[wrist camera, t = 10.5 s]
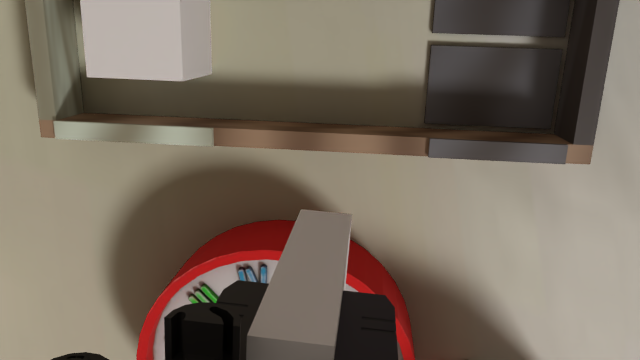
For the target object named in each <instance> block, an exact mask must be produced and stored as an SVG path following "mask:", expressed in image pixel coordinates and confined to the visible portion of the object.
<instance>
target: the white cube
mask: <svg viewBox="0 0 640 360" xmlns="http://www.w3.org/2000/svg"><path fill="white" fill-rule="evenodd" d="M80 5H81V16H82V27H83V38H84V50H85V61H86V72H87V77H93V78H116V79H140V80H163V81H186V80H190V79H194V78H198V77H202V76H206V75H210V74H212V55H211V14H210V0H80Z"/></svg>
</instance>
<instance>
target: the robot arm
mask: <svg viewBox="0 0 640 360" xmlns="http://www.w3.org/2000/svg"><path fill="white" fill-rule="evenodd" d="M351 221H352V214H344V213H334V212H324V211H314V210H304V209H301V210H300V213H299V215H298V217H297V220H296V222H295V224H294V227H293V229H292V231H291V234H290V236H289V238H288V241H287V243H286V245H285V248H284V250H283V252H282V255H281V257H280V259H279V262H278V264H277V266H276V269H275V271H274V273H273V276H272V278H271V280H270V283H269V284H268V283H260V282H251V281H242V280H237V281H236V282H234V283H233V284H231V285H229V286H228V287H226V288H225V289H223V291H222V293H221V294H220V296H219V298H218V299H217V301H216V303H214V302H198V303H193V304H187V305H184V306H181V307H179V308H177V309H174V310H172V311H171V312H170V313H169V314H168V315H167V316H165V317H164V335H165V360H398V348H397V334H396V318H395V307H394V306H393V304H392V303H391V302H390V301H389V299H388V298H387V297H386V295H380V294H371V293H362V292H353V291H345V286H346V275H347V265H348V254H349V243H350V232H351ZM51 360H109V359H107V358H105V357H103V356H101V355H100V354H93V353H87V352H84V353H72V354H67V355H63V356H60V357H57V358H53V359H51Z"/></svg>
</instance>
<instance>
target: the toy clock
mask: <svg viewBox="0 0 640 360" xmlns="http://www.w3.org/2000/svg"><path fill="white" fill-rule="evenodd" d="M295 222H296V221H287V220H271V221H259V222H254V223H250V224H246V225H242V226H238V227H235V228H233V229H231V230H228V231H226V232H224V233H222V234H220V235H218V236H216V237H214V238H213V239H212V240H210V241H209V242H207V243H206V244H205V245H203V246H202V247H200V248H199V249H198V250H197V251H196V252H195V253H194V254H193V255H192V256H191V258H190V259H189V260H188V261H187V262H186V263H185V264H184V265H183V267H182V268H181V269H180V270H179V272H178V273H177V274H176V276H175V277H174V278H173V279H172V281H171V282H170V283H169V284H168V286H167V287H166V288H165V290H164V291H163V292H162V293H161V295H160V296H159V297H158V299H157V300H156V302H155V303H154V305H153V307H152V308H151V310H150V311H149V313H148V314H147V317H146V319H145V322H144V325H143V327H142V330H141V333H140V336H139V343H138V349H137V360H165V335H164V317H165V316H167V315H168V314H169V313H170V312H171V311H172V310H174V309H177V308H179V307H181V306H184V305H187V304H193V303H198V302H214V303H216V301H217V299H218V298H219V296H220V294H221V293H222V291H223V289H225V288H226V287H228V286H229V285H231V284H233V283H234V282H236V281H237V280H242V281H251V282H260V283H268V284H269V283H270V280H271V278H272V276H273V273H274V271H275V269H276V266H277V264H278V262H279V259H280V257H281V255H282V252H283V250H284V248H285V245H286V243H287V241H288V238H289V236H290V234H291V231H292V229H293V227H294V224H295ZM345 291H353V292H362V293H371V294H380V295H386V297H387V298H388V299H389V301H390V302H391V303H392V304H393V306H394V307H395V318H396V334H397V348H398V360H415V355H414V347H413V340H412V332H411V325H410V318H409V315H408V312H407V308H406V305H405V301H404V299H403V297H402V295H401V293H400V291H399V289H398V287H397V285H396V283H395V281H394V280H393V279H392V277H391V276H390V275H389V273H388V272H387V271H386V269H385V268H384V267H383V265H382V264H381V263H380V262H379V261H378V260H376V259H375V258H374V257H373V256H372V255H371V254H370V253H369V252H368V251H367V250H366V249H364V248H363V247H361V246H360V245H358V244H357V243H355V242H353V241H352V240H350V243H349V254H348V265H347V275H346V286H345Z"/></svg>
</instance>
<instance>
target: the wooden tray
mask: <svg viewBox="0 0 640 360" xmlns="http://www.w3.org/2000/svg"><path fill="white" fill-rule="evenodd" d="M569 4H570V0H435V6H434V18H433V29H432V33H451V34H483V35H516V36H549V37H565V30H566V24H567V17H568V11H569ZM618 5H619V0H575V3H574V10H573V16H572V22H571V29H570V35H569V41H568V48H567V54H566V61H565V67H564V73H563V80H562V86H561V92H560V99H559V105H558V112H557V118H556V124H555V131H554V134H542V133H520V132H498V131H476V130H454V129H431V128H409V127H387V126H365V125H343V124H321V123H299V122H277V121H255V120H232V119H210V118H188V117H166V116H144V115H122V114H100V113H84V111H83V101H82V91H81V80H80V70H79V60H78V49H77V39H76V28H75V18H74V8H73V0H25V8H26V16H27V24H28V33H29V41H30V49H31V57H32V66H33V74H34V82H35V90H36V99H37V107H38V115H39V124H40V132H41V137H48V138H55V139H69V140H89V141H109V142H129V143H149V144H169V145H189V146H210V147H213V146H230V147H250V148H270V149H291V150H311V151H331V152H351V153H371V154H392V155H412V156H428V157H431V158H451V159H471V160H491V161H511V162H532V163H552V164H565V163H573V164H590V162H591V156H592V150H593V145H594V139H595V134H596V128H597V123H598V117H599V111H600V106H601V100H602V95H603V89H604V83H605V78H606V72H607V67H608V61H609V56H610V50H611V44H612V39H613V33H614V28H615V22H616V17H617V11H618ZM561 56H562V50H558V49H528V48H497V47H466V46H435V45H431V53H430V64H429V76H428V87H427V99H426V111H425V122H424V123H432V124H454V125H477V126H499V127H522V128H544V129H550V128H551V121H552V115H553V108H554V102H555V95H556V89H557V82H558V76H559V69H560V63H561Z"/></svg>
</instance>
